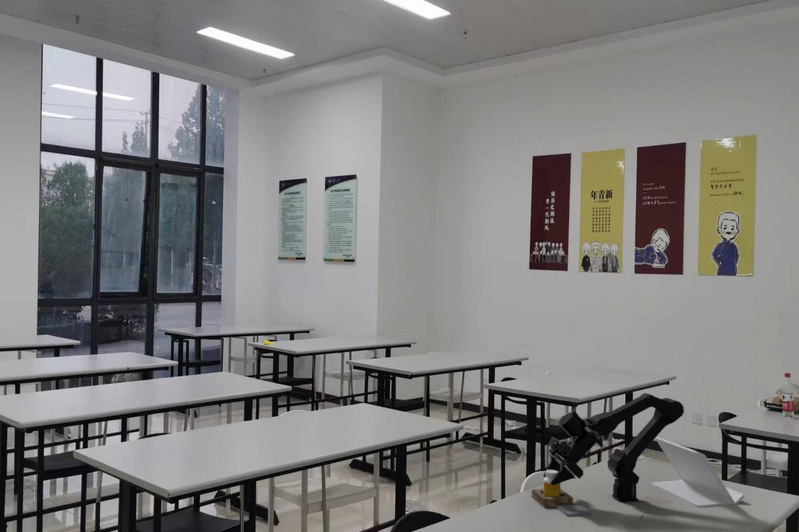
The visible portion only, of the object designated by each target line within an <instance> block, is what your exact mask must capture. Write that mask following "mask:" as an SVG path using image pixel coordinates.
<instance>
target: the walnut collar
mask: <svg viewBox="0 0 799 532" xmlns="http://www.w3.org/2000/svg"><path fill="white" fill-rule="evenodd" d="M531 498H532V499H533V500H534V501H536V502H537V503H538V504H539V505H541V507H542V508H553V506H555V507H557V506H559V505H574V497H573V496H571V494H568V493H567V492H566V491H565V490H563V488H561V487H560V496H559V497H546V496H544V488H537V489H535V488H534V489H533V488H532V489H531Z"/></svg>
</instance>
